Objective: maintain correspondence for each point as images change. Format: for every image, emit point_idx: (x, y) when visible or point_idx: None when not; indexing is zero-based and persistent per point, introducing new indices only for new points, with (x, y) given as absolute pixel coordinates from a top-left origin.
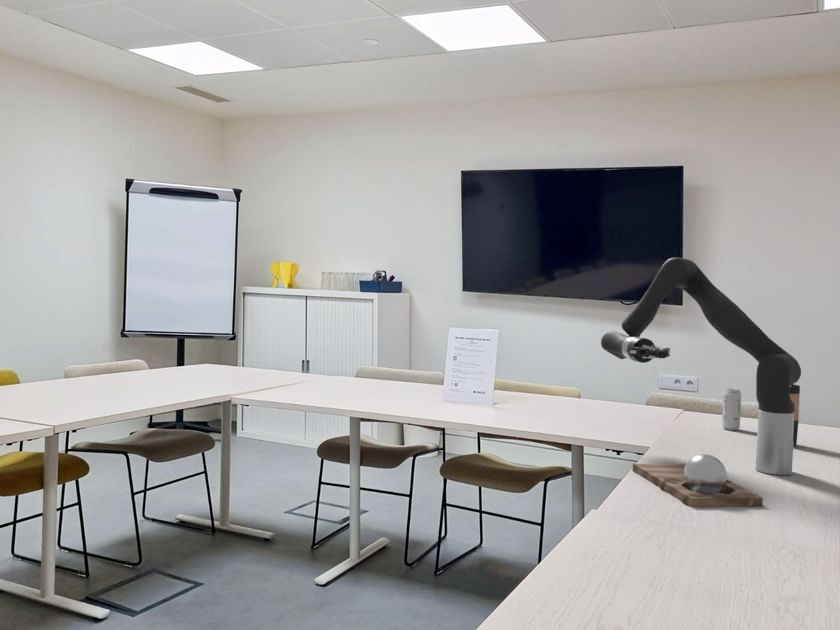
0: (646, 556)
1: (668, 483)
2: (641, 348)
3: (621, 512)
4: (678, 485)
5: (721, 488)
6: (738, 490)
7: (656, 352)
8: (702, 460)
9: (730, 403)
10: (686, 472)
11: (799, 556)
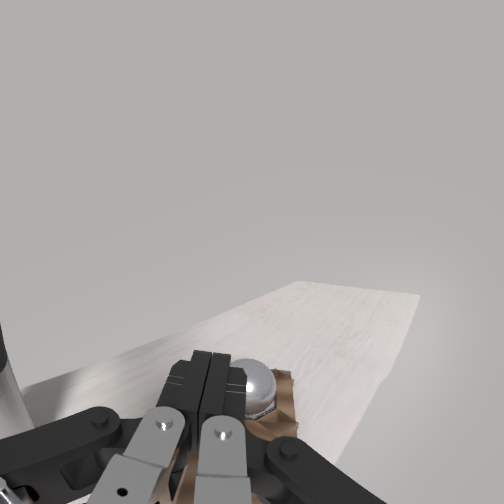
0: (361, 318)
1: (291, 414)
2: (345, 477)
3: (367, 371)
4: (281, 407)
5: None
6: None
7: (246, 389)
8: (261, 362)
9: None
10: (276, 387)
11: (262, 308)
